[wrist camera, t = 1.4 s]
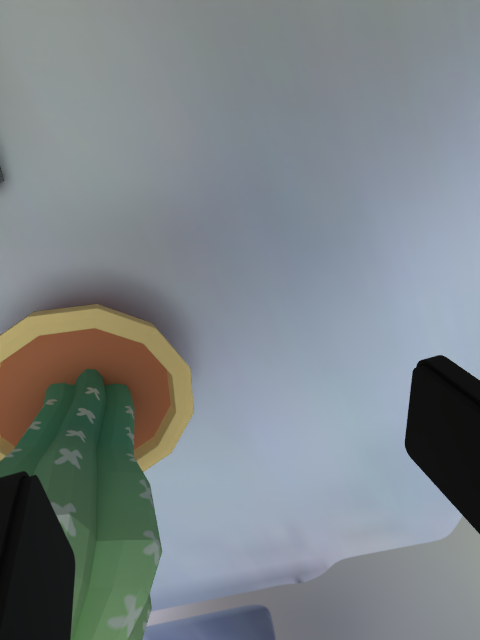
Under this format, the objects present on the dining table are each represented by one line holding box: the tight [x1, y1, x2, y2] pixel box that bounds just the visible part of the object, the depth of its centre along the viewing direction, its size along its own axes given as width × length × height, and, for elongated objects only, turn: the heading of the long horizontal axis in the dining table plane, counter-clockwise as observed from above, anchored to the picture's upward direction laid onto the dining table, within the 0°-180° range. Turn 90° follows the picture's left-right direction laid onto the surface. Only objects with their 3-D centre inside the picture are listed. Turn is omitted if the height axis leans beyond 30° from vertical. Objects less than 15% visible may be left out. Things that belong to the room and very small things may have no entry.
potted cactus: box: [0, 304, 194, 640], centre depth 24 cm, size 15×15×25 cm
